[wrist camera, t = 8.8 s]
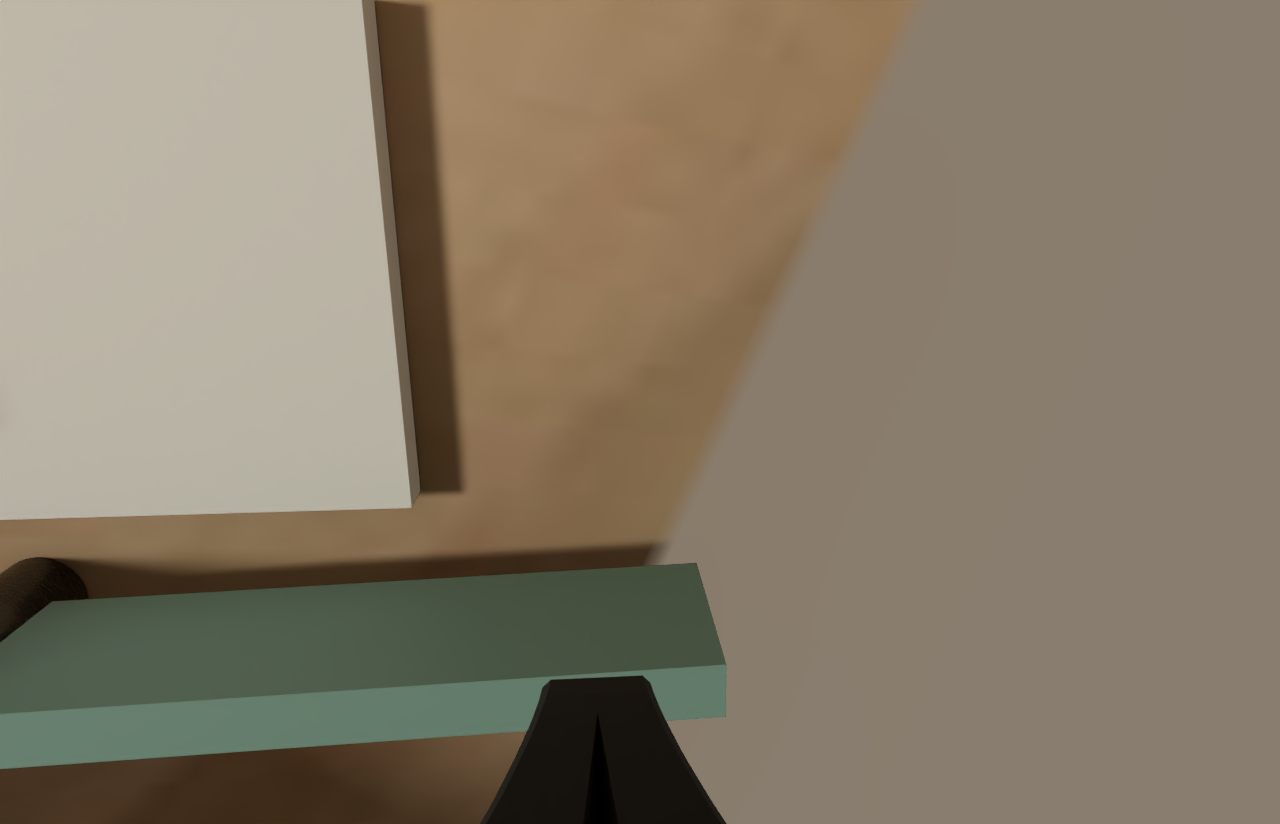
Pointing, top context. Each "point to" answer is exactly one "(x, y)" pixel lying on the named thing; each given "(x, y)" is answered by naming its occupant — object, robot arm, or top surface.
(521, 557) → the top surface
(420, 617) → the bar
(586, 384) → the top surface
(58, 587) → the gate post
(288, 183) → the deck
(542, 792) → the robot arm
